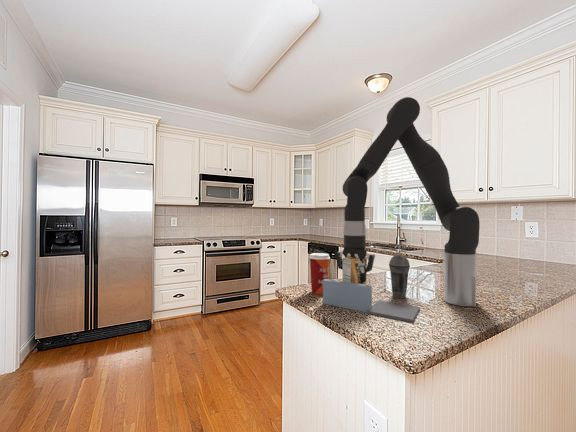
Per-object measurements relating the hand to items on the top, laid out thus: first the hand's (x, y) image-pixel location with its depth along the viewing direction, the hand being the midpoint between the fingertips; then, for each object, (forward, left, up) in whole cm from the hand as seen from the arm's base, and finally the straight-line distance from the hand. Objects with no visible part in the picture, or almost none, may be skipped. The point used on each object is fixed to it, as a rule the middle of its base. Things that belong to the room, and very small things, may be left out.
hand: (354, 282), depth 96 cm
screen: (0, +8, -7) cm, 10 cm away
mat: (-14, +3, -7) cm, 16 cm away
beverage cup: (-12, -15, -7) cm, 20 cm away
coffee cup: (+15, -3, -7) cm, 17 cm away
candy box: (0, 0, -7) cm, 7 cm away
